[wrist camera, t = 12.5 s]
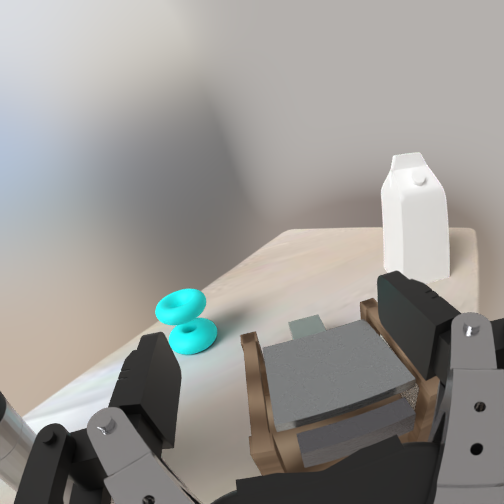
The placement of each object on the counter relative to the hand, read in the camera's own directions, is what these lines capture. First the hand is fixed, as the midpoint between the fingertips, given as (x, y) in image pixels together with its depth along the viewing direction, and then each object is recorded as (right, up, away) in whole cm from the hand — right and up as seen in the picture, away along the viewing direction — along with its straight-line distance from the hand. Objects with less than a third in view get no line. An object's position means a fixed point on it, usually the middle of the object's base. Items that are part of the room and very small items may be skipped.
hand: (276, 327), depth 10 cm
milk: (+36, -2, +49) cm, 61 cm away
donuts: (-12, -15, +47) cm, 51 cm away
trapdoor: (+8, -12, +17) cm, 23 cm away
